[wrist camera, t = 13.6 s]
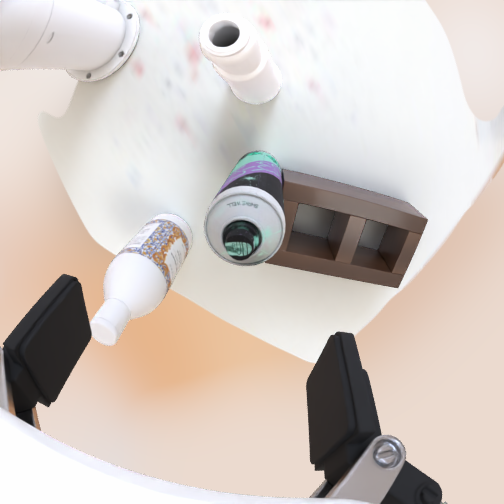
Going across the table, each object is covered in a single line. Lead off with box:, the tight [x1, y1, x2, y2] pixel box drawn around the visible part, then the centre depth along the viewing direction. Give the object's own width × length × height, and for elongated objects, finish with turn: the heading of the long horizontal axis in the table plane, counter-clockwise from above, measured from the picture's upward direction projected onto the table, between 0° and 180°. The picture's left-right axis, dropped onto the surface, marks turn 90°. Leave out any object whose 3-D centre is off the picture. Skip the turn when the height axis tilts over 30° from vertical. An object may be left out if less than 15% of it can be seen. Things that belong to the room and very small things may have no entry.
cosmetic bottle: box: [199, 13, 282, 104], centre depth 19 cm, size 6×6×22 cm
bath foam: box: [90, 213, 192, 346], centre depth 30 cm, size 7×7×20 cm
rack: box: [265, 169, 428, 288], centre depth 34 cm, size 10×18×6 cm, turn 80°
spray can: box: [204, 151, 286, 266], centre depth 26 cm, size 6×6×20 cm
